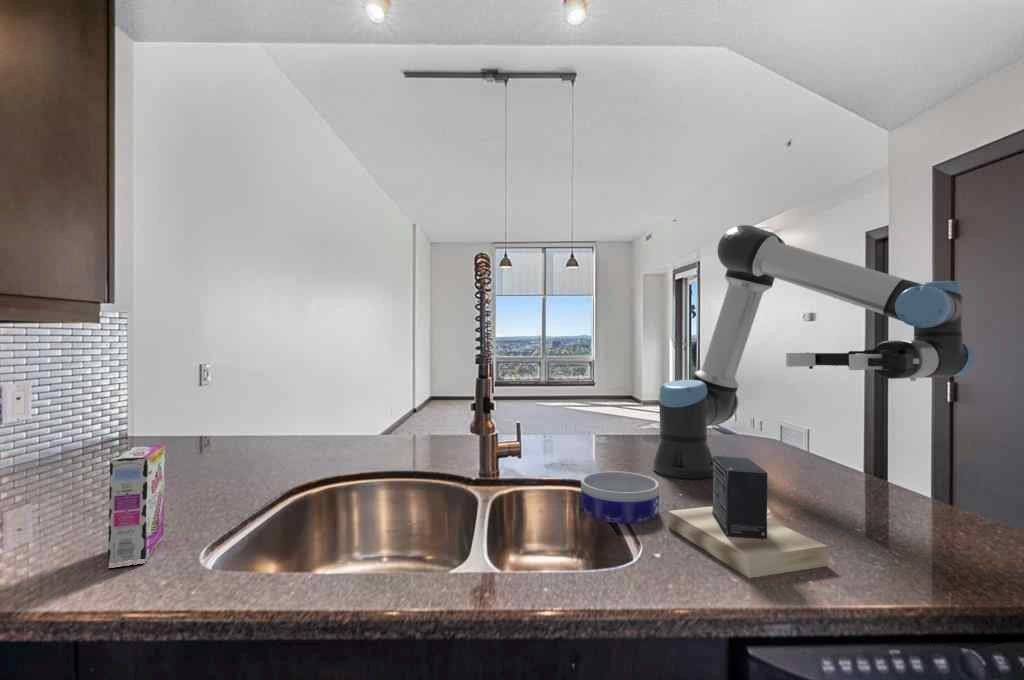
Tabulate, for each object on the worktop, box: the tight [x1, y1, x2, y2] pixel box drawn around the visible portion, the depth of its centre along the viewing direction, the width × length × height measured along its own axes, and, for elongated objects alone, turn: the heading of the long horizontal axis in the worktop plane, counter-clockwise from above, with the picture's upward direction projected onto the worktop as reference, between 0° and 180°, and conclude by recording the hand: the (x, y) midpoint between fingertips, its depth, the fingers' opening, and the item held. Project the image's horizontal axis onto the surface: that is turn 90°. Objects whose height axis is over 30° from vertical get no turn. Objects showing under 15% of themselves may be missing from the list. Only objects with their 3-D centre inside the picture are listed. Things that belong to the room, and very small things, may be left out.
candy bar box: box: [107, 445, 166, 564], centre depth 79 cm, size 11×5×16 cm, turn 23°
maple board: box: [667, 505, 828, 579], centre depth 81 cm, size 20×14×3 cm
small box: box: [712, 455, 768, 538], centre depth 81 cm, size 11×6×10 cm, turn 169°
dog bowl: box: [580, 470, 660, 525], centre depth 98 cm, size 15×15×6 cm
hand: (816, 360), depth 92 cm, fingers open, 13 cm apart
